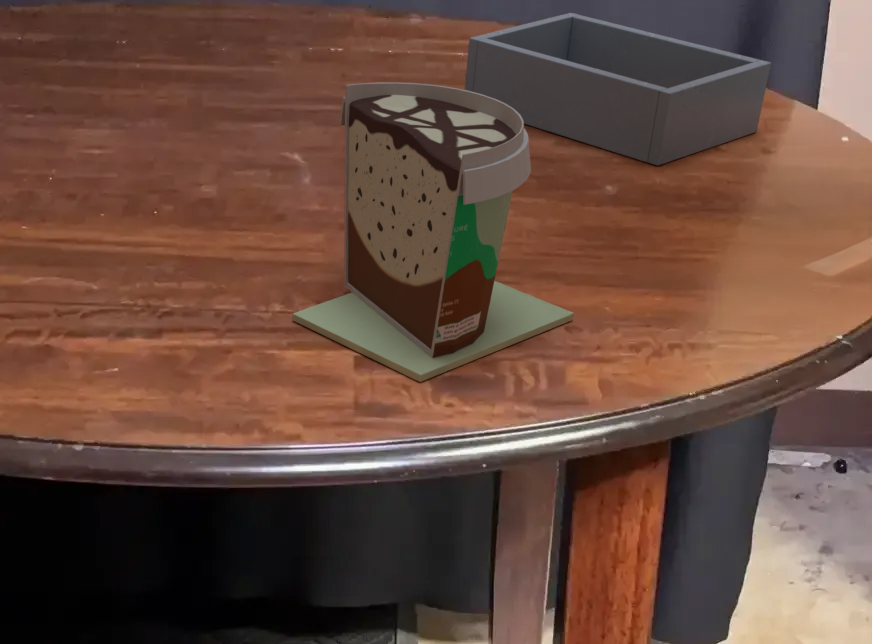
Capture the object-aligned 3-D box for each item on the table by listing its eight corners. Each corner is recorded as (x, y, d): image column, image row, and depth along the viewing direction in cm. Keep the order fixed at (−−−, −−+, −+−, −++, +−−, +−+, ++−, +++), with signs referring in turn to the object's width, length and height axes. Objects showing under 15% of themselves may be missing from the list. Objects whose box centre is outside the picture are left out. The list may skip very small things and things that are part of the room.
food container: (560, 349, 73) (590, 140, 67) (448, 371, 71) (469, 158, 65) (433, 258, 82) (450, 68, 76) (331, 275, 80) (341, 82, 74)
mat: (573, 320, 76) (574, 312, 76) (420, 382, 71) (420, 374, 70) (443, 266, 82) (443, 259, 82) (292, 320, 76) (292, 313, 76)
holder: (757, 132, 100) (771, 62, 98) (657, 166, 95) (670, 93, 92) (562, 76, 111) (570, 12, 108) (462, 104, 105) (469, 37, 103)
